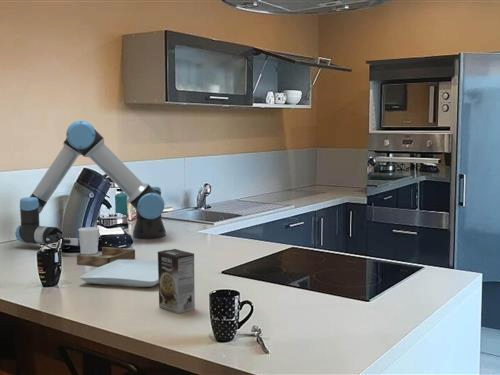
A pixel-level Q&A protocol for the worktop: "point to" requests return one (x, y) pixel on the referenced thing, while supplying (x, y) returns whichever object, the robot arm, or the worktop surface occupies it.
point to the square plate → (125, 273)
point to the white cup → (88, 240)
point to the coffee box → (176, 280)
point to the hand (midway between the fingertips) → (88, 239)
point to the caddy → (106, 256)
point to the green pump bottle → (121, 203)
